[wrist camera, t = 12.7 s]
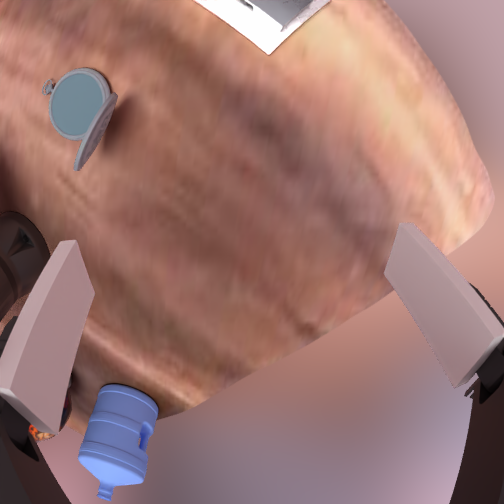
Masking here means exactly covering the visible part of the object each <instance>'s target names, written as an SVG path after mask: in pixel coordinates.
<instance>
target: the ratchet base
mask: <svg viewBox="0 0 504 504" xmlns="http://www.w3.org/2000/svg"><path fill="white" fill-rule="evenodd" d="M192 1H194V2H195V3H197V4H199V5H200V6H202V7H203V8H205V9H206V10H208V11H209V12H211V13H212V14H214V15H215V16H217V17H218V18H219V19H221V20H222V21H224V22H225V23H227V24H228V25H229V26H231V27H232V28H233V29H235V30H236V31H237V32H239V33H240V34H241V35H243V36H244V37H245V38H247V39H248V40H249V41H251V42H252V43H253V44H254V45H256V46H257V47H258V48H259V49H261V50H262V51H263V52H264V53H266V54H267V55H269V54H270V53H271V52H272V51H273V50H274V49H276V48H277V47H278V46H279V45H280V44H281V43H282V42H283V41H284V40H285V39H286V38H287V37H288V36H290V35H291V34H292V33H293V32H294V31H295V30H296V29H297V28H299V27H300V26H301V25H302V24H303V23H304V22H305V21H307V20H308V19H309V18H310V17H311V16H312V15H314V14H315V13H316V12H317V11H318V10H320V9H321V8H322V7H323V6H325V5H326V4H327V3H328V2H330V1H331V0H245V1H246V2H248V3H249V4H248V5H245V4H244V3H242V2H241V1H240V0H192Z"/></svg>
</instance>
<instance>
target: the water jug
mask: <svg viewBox="0 0 504 504" xmlns="http://www.w3.org/2000/svg"><path fill="white" fill-rule="evenodd" d="M157 416H158V407H157V405H156V403H155V402H154V401H153V400H152V399H151V398H150V397H148V396H147V395H146V394H144V393H142V392H140V391H138V390H136V389H134V388H131V387H128V386H124V385H118V384H110V385H106V386H104V387H102V388H101V389H100V392H99V394H98V399H97V401H96V404H95V407H94V410H93V413H92V415H91V417H90V419H89V423H88V427H87V430H86V433H85V436H84V439H83V443H82V444H81V447H80V450H79V456H78V460H79V461H80V463H81V464H82V465H83V466H84V467H85V468H86V469H88V470H89V471H90V472H91V473H92V474H93V475H94V476H95V477H96V478H97V479H99V481H100V486H99V489H98V490H99V492H98V495H97V496H98V497H99V498H102V499H105V500H108V501H111V495H112V494H113V488H114V487H115V486H120V485H132V484H140V483H142V482H143V481H144V477H145V474H146V470H147V461H148V456H147V454H146V448H147V444H148V439H149V437H150V436H151V435H152V434H153V431H154V427H155V422H156V419H157ZM139 438H141V441H140V445H139V446H138V440H139Z"/></svg>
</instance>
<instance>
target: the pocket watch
mask: <svg viewBox="0 0 504 504" xmlns="http://www.w3.org/2000/svg"><path fill="white" fill-rule="evenodd" d="M47 81H50V82H51V84H49V85H47V86H46V87H45V90H46V94H44V93H43V89H44V86H45V84H46V82H47ZM47 81H46V82H45V83H44V85H43V88H42V93H43V95H47V94H49V93H50V92H52V94H51V97H50V101H49V115H50V119H51V122H52V124H53V126H54V128H55V129H56V131H57V132H58V133H59V134H60V135H62V136H63V137H65V138H67V139H69V140H75V141H78V140H82V143H81V145H80V148H79V150H78V153H77V156H76V159H75V163H74V171H79V170H80V169H81V168H82V167H83V166H84V164H85V163H86V161H87V160H88V159H89V157H90V156H91V154H92V153H93V152H94V150H95V148H96V147H97V145H98V143H99V142H100V140H101V138H102V136H103V134H104V132H105V130H106V128H107V126H108V124H109V121H110V119H111V116H112V113H113V111H114V108H115V104H116V102H117V98H118V95H117V94H116V93H115V92H114V93H112V94H111V93H110V89H109V86H108V84H107V82H106V80H105V78H104V77H103V76H102V75H101V74H100V73H99V72H97V71H95V70H93V69H90V68H78V69H75V70H72V71H70V72H68V73H67V74H65V75H64V76H63V77H62V78H61V79H60V80H59V81H58V82H57V84H56V85H55V87H54V89H53V85H52V81H51V80H50V79H49V80H47Z"/></svg>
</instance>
